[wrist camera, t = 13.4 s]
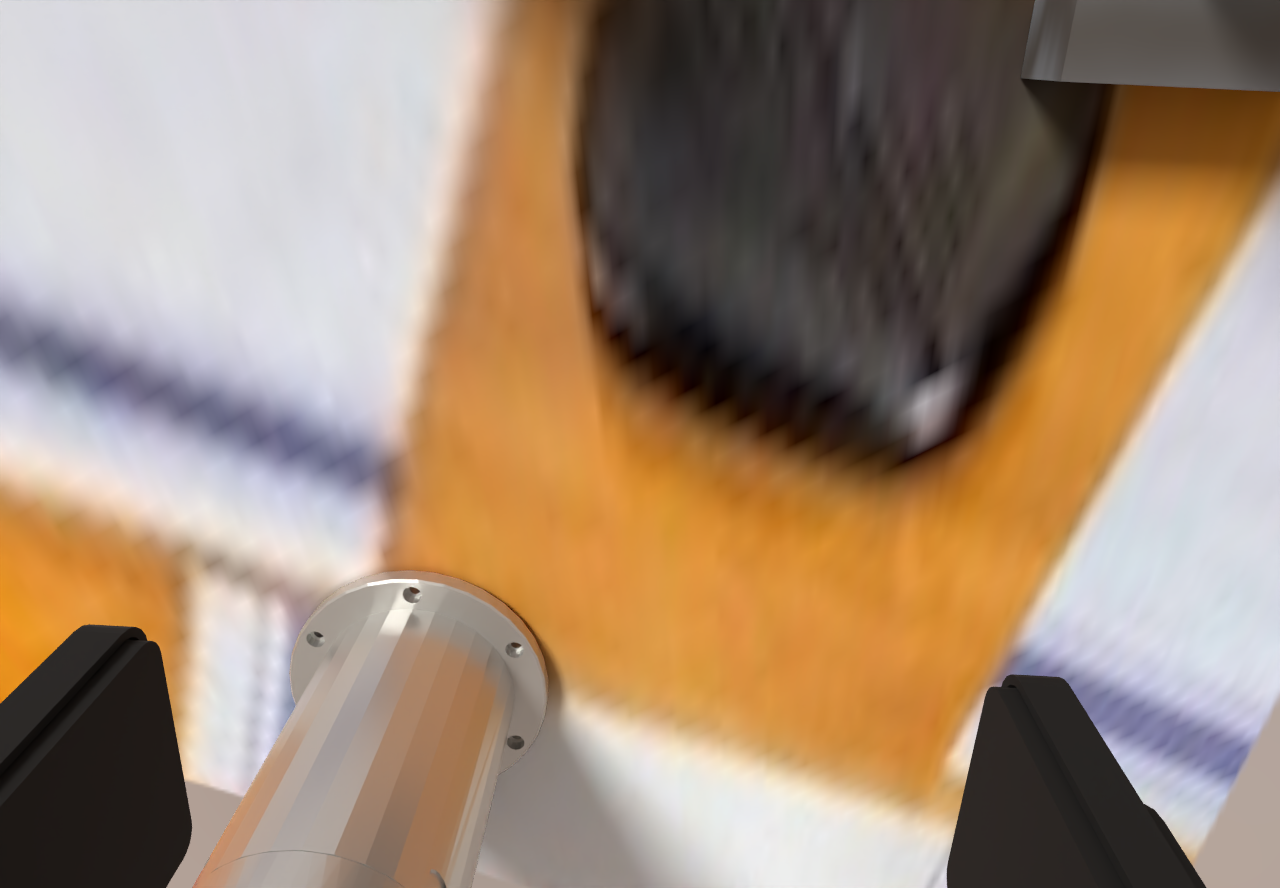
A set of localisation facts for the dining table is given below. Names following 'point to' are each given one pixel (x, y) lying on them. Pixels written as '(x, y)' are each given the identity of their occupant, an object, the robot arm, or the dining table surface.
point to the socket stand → (1156, 43)
